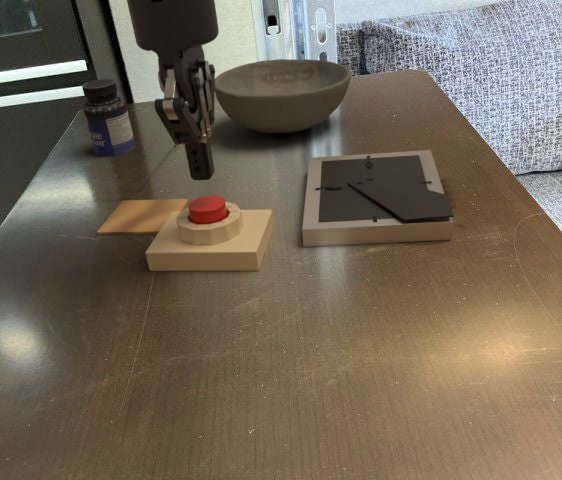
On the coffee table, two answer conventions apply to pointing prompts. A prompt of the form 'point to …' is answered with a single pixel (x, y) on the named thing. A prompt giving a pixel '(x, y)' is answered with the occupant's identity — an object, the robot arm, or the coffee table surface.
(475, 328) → the coffee table surface
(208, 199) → the button
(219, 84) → the bowl
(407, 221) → the picture frame
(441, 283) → the coffee table surface
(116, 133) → the pill bottle
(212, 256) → the desk block
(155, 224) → the coaster
